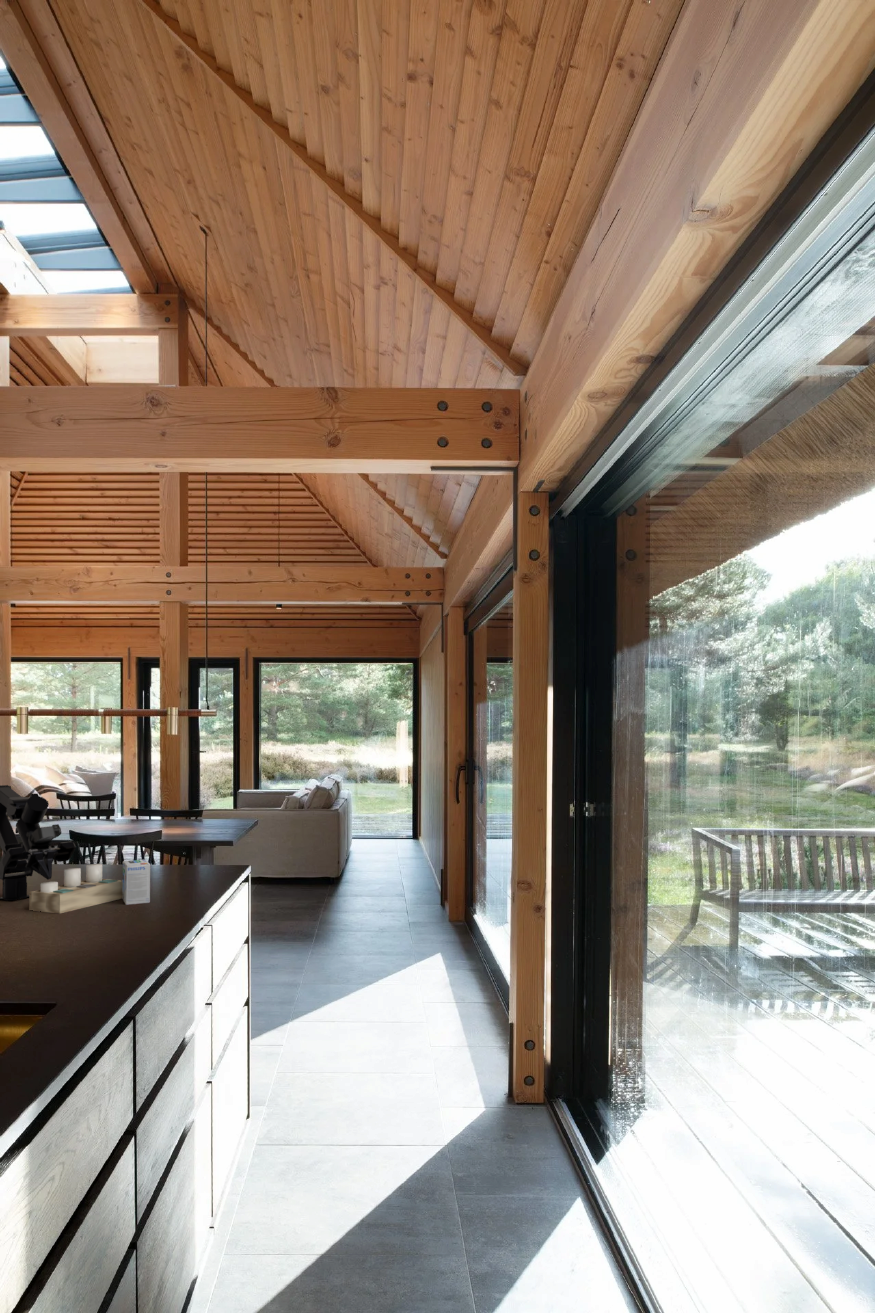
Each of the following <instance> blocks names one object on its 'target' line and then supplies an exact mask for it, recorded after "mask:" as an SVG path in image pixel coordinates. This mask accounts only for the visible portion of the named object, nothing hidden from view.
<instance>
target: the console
mask: <svg viewBox="0 0 875 1313" xmlns="http://www.w3.org/2000/svg"><path fill="white" fill-rule="evenodd" d="M122 880H123V879H109V878H102V881H99V882H96V883H89V882H86V879H83V880H81V885H80V886H76V887H73V888H70V887H64V884H60V885H59V884H58V890H57V891H53V892H49V893H46V892H40V891H41V888H40V889H37V890H32V891H29V898H28V900H29V901H28V902H29V905H28V906H29V908H28V910H29V911H30V910H33V911H34V912H40V911H41V912H40V913H53V914H63V913H68V912H72V911H76V910H80V909H84V908H89V907H92V906H96V905H100V904H105V903H109V902H112V901H113V902H114V901H116V900H117V901H118V900H121V899H122ZM122 900H123V899H122ZM33 911H32V912H33Z"/></svg>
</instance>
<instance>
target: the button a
mask: <svg viewBox="0 0 875 1313" xmlns="http://www.w3.org/2000/svg"><path fill="white" fill-rule="evenodd" d="M58 886H59V882H58V881H44V882H40V889H41V891H40V892H46V893H49V892H53V891H57V890H58Z"/></svg>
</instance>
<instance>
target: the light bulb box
mask: <svg viewBox="0 0 875 1313" xmlns="http://www.w3.org/2000/svg"><path fill="white" fill-rule="evenodd" d="M121 878H122V879H121V880H122V901H123V902H124V904H125V905H126V906H127V905H138V904H149V903H150V902H151V863H149V861H148V860H147V859H135V860H123V861H122V877H121Z"/></svg>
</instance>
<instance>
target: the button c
mask: <svg viewBox="0 0 875 1313" xmlns="http://www.w3.org/2000/svg"><path fill="white" fill-rule="evenodd" d="M102 879H103V864H102V863H91V864H86V865H85V880H86V882H89V883H96V882H99V881H102Z"/></svg>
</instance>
